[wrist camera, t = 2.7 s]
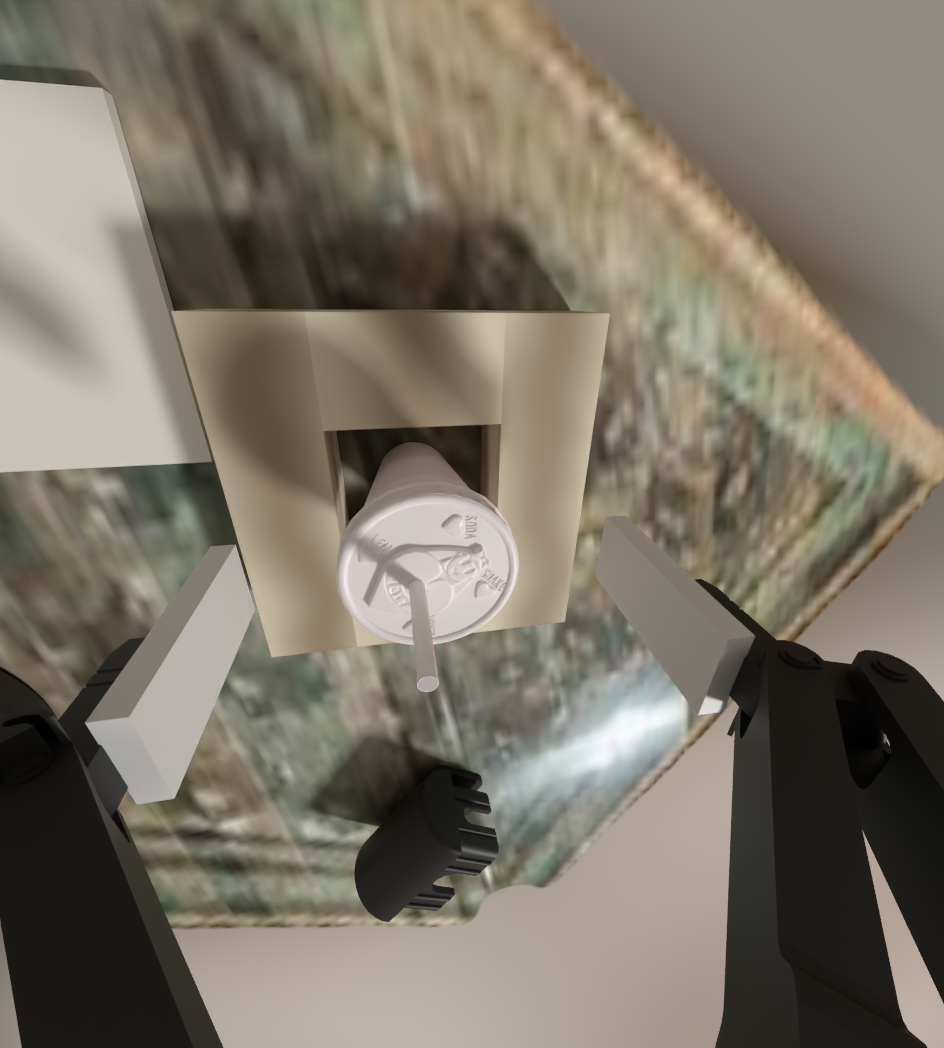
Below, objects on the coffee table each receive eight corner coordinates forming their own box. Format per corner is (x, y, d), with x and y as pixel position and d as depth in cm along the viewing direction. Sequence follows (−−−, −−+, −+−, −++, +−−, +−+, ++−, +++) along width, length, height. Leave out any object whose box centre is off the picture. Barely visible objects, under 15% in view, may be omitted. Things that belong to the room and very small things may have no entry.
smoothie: (329, 446, 21) (258, 642, 9) (445, 395, 21) (528, 526, 9) (386, 543, 25) (389, 785, 12) (488, 500, 24) (590, 700, 12)
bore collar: (287, 608, 25) (271, 657, 22) (212, 308, 18) (171, 310, 14) (542, 581, 28) (564, 621, 24) (571, 310, 20) (609, 313, 17)
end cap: (418, 752, 34) (425, 847, 28) (486, 771, 37) (506, 861, 31) (355, 821, 37) (350, 920, 31) (423, 834, 40) (430, 927, 34)
